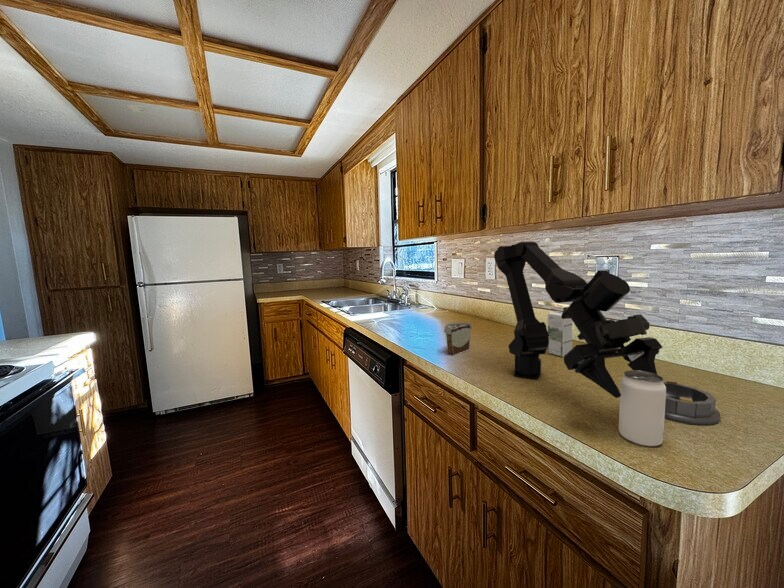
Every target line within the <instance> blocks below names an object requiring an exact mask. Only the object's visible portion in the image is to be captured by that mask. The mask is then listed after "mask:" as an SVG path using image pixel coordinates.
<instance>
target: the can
mask: <svg viewBox="0 0 784 588" xmlns="http://www.w3.org/2000/svg"><path fill="white" fill-rule="evenodd" d="M623 374H624V375H623V377H622V378H621V380H620V390H619V392H620V394H621V396H620V397H619V411H618V412H619V414H618V415H619V416H618V433H619V434H620V435H621V437H623V438H624V439H625V440H626V441H628V442H630V443H633V444H636V445H637V446H641V447H642V446H643V447H647V448H653V447H654V448H655V447H658V446H660V445H661V444H662V443H664V430H665V429H664V428H665V418H664V417H665V402H666V387H665V385H664V383H663V382H664V381H665V380H664V378H663V376H661V375H659V374H658V373H657V374H658V375H657V374H654V373H650V372H645V371H637V370H632V369H630V370H626V371H624V373H623Z"/></svg>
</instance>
